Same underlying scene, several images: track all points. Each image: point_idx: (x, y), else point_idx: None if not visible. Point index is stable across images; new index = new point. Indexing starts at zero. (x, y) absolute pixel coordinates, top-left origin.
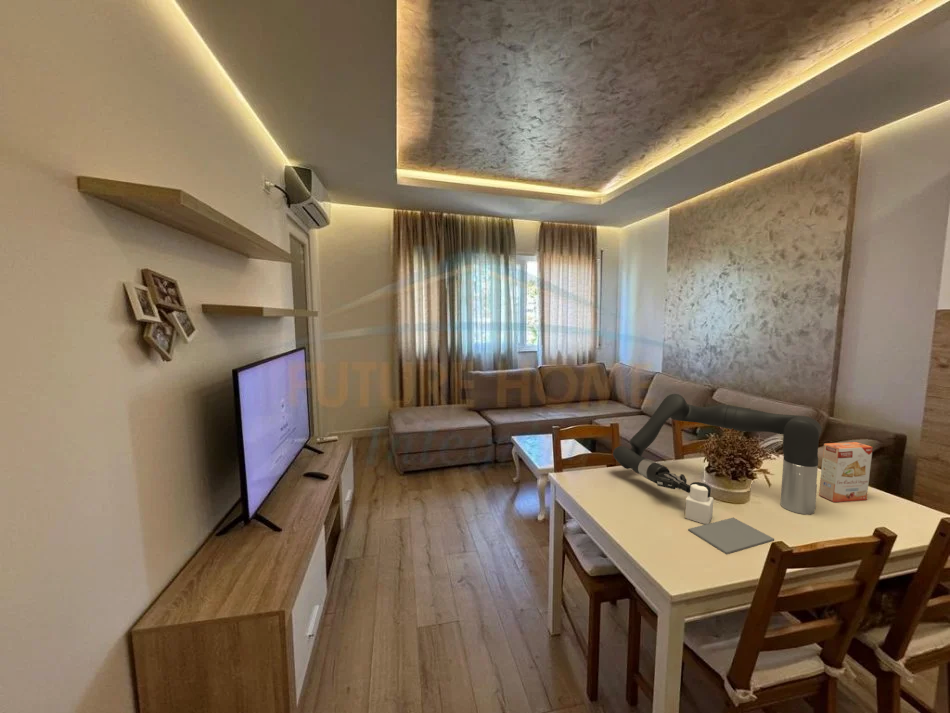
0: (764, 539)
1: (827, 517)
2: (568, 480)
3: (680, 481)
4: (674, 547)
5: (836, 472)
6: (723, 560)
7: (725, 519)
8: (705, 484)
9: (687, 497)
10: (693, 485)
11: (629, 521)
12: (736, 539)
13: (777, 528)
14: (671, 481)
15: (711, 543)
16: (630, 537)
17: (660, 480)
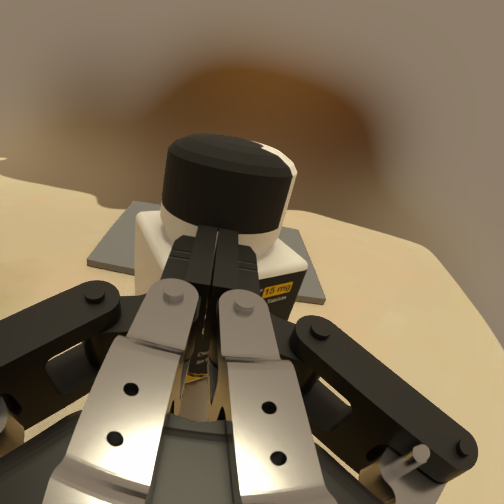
0: (158, 206)
1: None
2: None
3: (194, 311)
4: (398, 284)
5: None
6: (318, 233)
7: (127, 267)
8: (198, 134)
9: (290, 262)
10: (286, 159)
11: (481, 393)
12: None
13: (61, 210)
14: (336, 354)
15: (305, 251)
16: (477, 335)
17: (452, 423)
